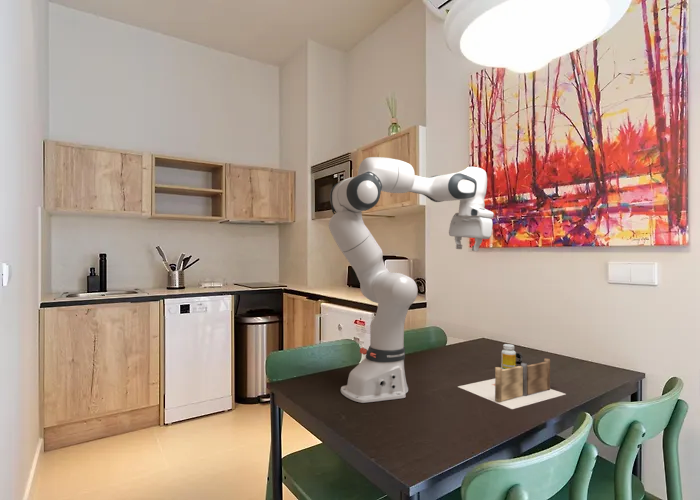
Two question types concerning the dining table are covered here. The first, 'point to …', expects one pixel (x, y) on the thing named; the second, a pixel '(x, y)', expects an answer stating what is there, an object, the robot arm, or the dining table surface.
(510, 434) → the dining table surface
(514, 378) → the folding fence section
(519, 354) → the black blocky piece
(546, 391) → the card
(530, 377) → the fixed fence section
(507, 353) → the supplement bottle
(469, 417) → the dining table surface
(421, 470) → the dining table surface
